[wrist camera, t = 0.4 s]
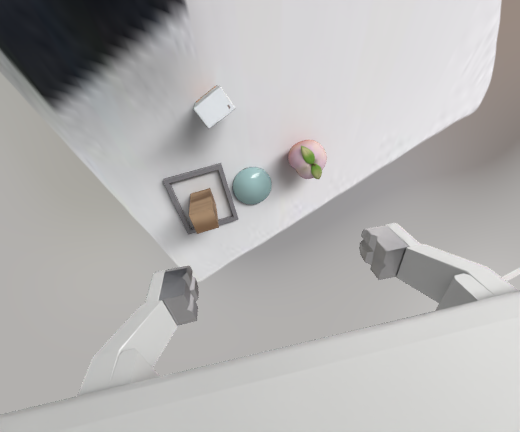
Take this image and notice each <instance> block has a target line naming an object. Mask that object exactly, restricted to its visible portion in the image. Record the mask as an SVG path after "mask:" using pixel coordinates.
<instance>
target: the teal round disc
mask: <svg viewBox="0 0 520 432" xmlns="http://www.w3.org/2000/svg"><path fill="white" fill-rule="evenodd" d="M233 190H234V194H235V196H236V197H237V199H238V200H240V201H241V202H243V203H245V204H257V203H260V202H261V201H263V200H264V199H265V198H266V197H267V196H268V195H269V193H270V191H271V179H270V177H269V175H268V174H267V173H266V172H265V171H264V170H263V169H261V168H258V167H249V168H245V169H243V170H242V171H240V172H239V173H238V174H237V175H236V177H235V179H234V182H233Z"/></svg>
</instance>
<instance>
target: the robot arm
mask: <svg viewBox="0 0 520 432" xmlns="http://www.w3.org/2000/svg"><path fill="white" fill-rule="evenodd" d="M361 236H362V238H363V240H362V241H361V243H360V247H359V249H360V254H361V256H362V258H363V260H364V261H365V262H366V263H368V264H370V265H371V270H372V272H373V273H374V274H375V276H376V277H377V278H378V280H381V279H386V278H391V277H397V278H398V279H400V280H402V281H403V282H405V283H406V284H408V285H410V286H411V287H413V288H415V289H416V290H418V291H420V292H421V293H423V294H425V295H426V296H428V297H430V298H431V299H433V300H435V301H436V302H438V303H439V305H438V307H437V309H436V310H435V311H433V312H429V313H424V314H420V315H416V316H412V317H407V318H403V319H399V320H395V321H391V322H387V323H382V324H378V325H374V326H370V327H366V328H362V329H358V330H353V331H349V332H345V333H341V334H336V335H332V336H328V337H324V338H320V339H315V340H311V341H307V342H303V343H299V344H295V345H290V346H286V347H282V348H278V349H274V350H270V351H265V352H261V353H257V354H253V355H249V356H244V357H240V358H236V359H232V360H228V361H223V362H219V363H215V364H211V365H207V366H202V367H199V368H194V369H190V370H186V371H182V372H178V373H173V374H169V375H165V376H159V375H158V374H157V373H156V371H155V370H154V369H153V367H154V365H155V363H156V362H157V360H158V358H159V357H160V355H161V353H162V352H163V350H164V348H165V347H166V345H167V344H168V342H169V340H170V339H171V337H172V335H173V334H174V332H175V330H176V329H177V326H178V325H182V324H186V323H189V322H193V321H197V312H198V306H197V304H196V301H197V299H198V293H199V292H198V285H197V281H196V279H195V277H193V276H192V269H191V267H190V266H184V267H179V268H173V269H168V270H164V271H158V272H155V273H154V274H153V276H152V279H151V283H150V286H149V290H148V294H147V297H146V301H145V304H142V305H140V307H139V308H138V309H137V310H136V311H135V312H134V313H133V314H132V315H131V316H130V317H129V318H128V319H127V321H126V322H125V323H124V324H123V325H122V326H121V327H120V328H119V329H118V330H117V331H116V332H115V334H114V335H113V336H112V337H111V338H110V339H109V340H108V341H107V342H106V343H105V344H104V346H102V348H101V349H100V350H99V351H98V352H97V353H96V354H95V355H94V356H93V358H92V361H91V363H90V365H89V368H88V370H87V373H86V375H85V378H84V381H83V383H82V385H81V388H80V391H79V393H78V396H77V397H72V398H68V399H64V400H59V401H55V402H51V403H47V404H43V405H39V406H34V407H30V408H26V409H22V410H18V411H13V412H9V413H5V414H1V415H0V432H520V291H519V290H517V289H516V288H515V287H513V286H512V285H511V284H509V283H508V282H507V281H506V280H504V279H503V278H502V277H500V276H499V275H498V274H496V273H495V272H494V271H493V270H491V269H490V268H488V267H486V266H484V265H481V264H478V263H475V262H472V261H470V260H467V259H464V258H462V257H459V256H456V255H453V254H450V253H448V252H445V251H442V250H439V249H437V248H434V247H431V246H429V245H426V244H420V243H418V241H416V240H415V239H414V238H413V237H412V236H411V235H410V234H408V233H407V232H406V231H405V230H404V229H403V228H402V227H400V226H399V225H398V224H397V223H391V224H387V225H382V226H377V227H373V228H368V229H364V230H363V231H362V235H361Z"/></svg>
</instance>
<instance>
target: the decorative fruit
mask: <svg viewBox="0 0 520 432" xmlns="http://www.w3.org/2000/svg"><path fill="white" fill-rule="evenodd" d="M288 159H289V163H290V165H291V167H293V168H294V169H296V171H297V173H298V174H299V176H301V177H302V178H305V179H311V178H316V179H319V178H320V177H321V174H322V170H323V168H324V166H325V164H326V160H327V156H326V152H325V150H324V148H323V147H322V146H321V145H320V144H319V143H318V142H316V141H314V140H304V141H301V142H299V143H297V144H295V145H294V146H293V147H292V148H291V149H290V151H289V155H288Z"/></svg>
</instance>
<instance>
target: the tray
mask: <svg viewBox="0 0 520 432" xmlns="http://www.w3.org/2000/svg"><path fill="white" fill-rule="evenodd" d="M215 170H219V173H220V176H221V179H222V182H223V185H224V188H225V192H226V195H227V198H228V201H229V204H230V207H231V210H232V213H233V216H229V217H226V218H223V219H219V220H218V224H219V225H221V224H225V223H228V222H231V221H235V220H238V216H237V213H236V210H235V207H234V204H233V200H232V197H231V194H230V191H229V188H228V184H227V181H226V178H225V175H224V172H223V168H222V165H221V163H219V164H215V165H212V166H208V167H204V168H201V169H197V170H194V171H190V172H187V173H183V174H179V175H176V176H172V177H169V178H165V179H163V182H164V184H165V186H166V189H167V191H168V193H169V195H170V197H171V199H172V201H173V203H174V205H175V208H176V210H177V212H178V214H179V216H180V218H181V220H182V222H183V224H184V227H185V229H186V231H187V233H188V234H192V233H195V232H196V230H195V228H194V227H193V228H190V225H189V223H188V221H187V219H186V217H185V215H184V212H183V210H182V208H181V206H180V204H179V201H178V199H177V197H176V195H175V193H174V190H173V188H172V186H171V184H170V183H172V182H176V181H179V180H183V179H187V178H190V177H194V176H197V175H201V174H204V173H208V172H211V171H215Z"/></svg>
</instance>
